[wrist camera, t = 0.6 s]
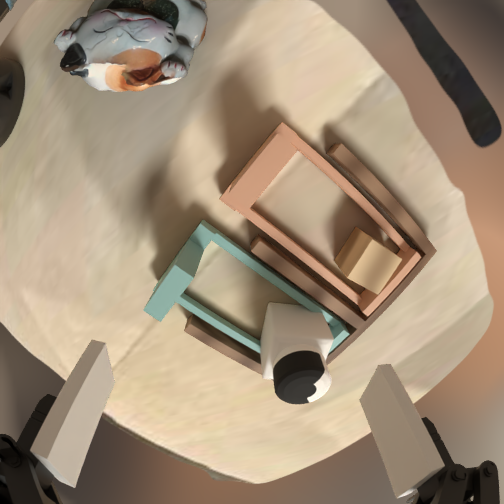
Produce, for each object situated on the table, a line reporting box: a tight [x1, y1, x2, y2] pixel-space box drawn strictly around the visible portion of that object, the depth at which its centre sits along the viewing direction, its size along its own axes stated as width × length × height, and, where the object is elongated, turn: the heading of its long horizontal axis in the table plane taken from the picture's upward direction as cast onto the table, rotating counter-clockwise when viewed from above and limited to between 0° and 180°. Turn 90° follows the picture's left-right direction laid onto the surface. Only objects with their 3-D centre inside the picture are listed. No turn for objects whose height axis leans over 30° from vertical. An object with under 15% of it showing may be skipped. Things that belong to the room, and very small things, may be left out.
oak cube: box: [334, 227, 402, 295], centre depth 31 cm, size 5×5×5 cm
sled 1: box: [143, 220, 349, 354], centre depth 31 cm, size 23×10×9 cm, turn 52°
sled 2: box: [220, 122, 421, 316], centre depth 28 cm, size 23×10×9 cm, turn 52°
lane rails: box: [184, 143, 437, 381], centre depth 34 cm, size 19×28×2 cm
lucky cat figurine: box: [54, 0, 207, 92], centre depth 19 cm, size 15×12×14 cm
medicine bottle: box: [260, 302, 334, 404], centre depth 32 cm, size 7×7×12 cm
